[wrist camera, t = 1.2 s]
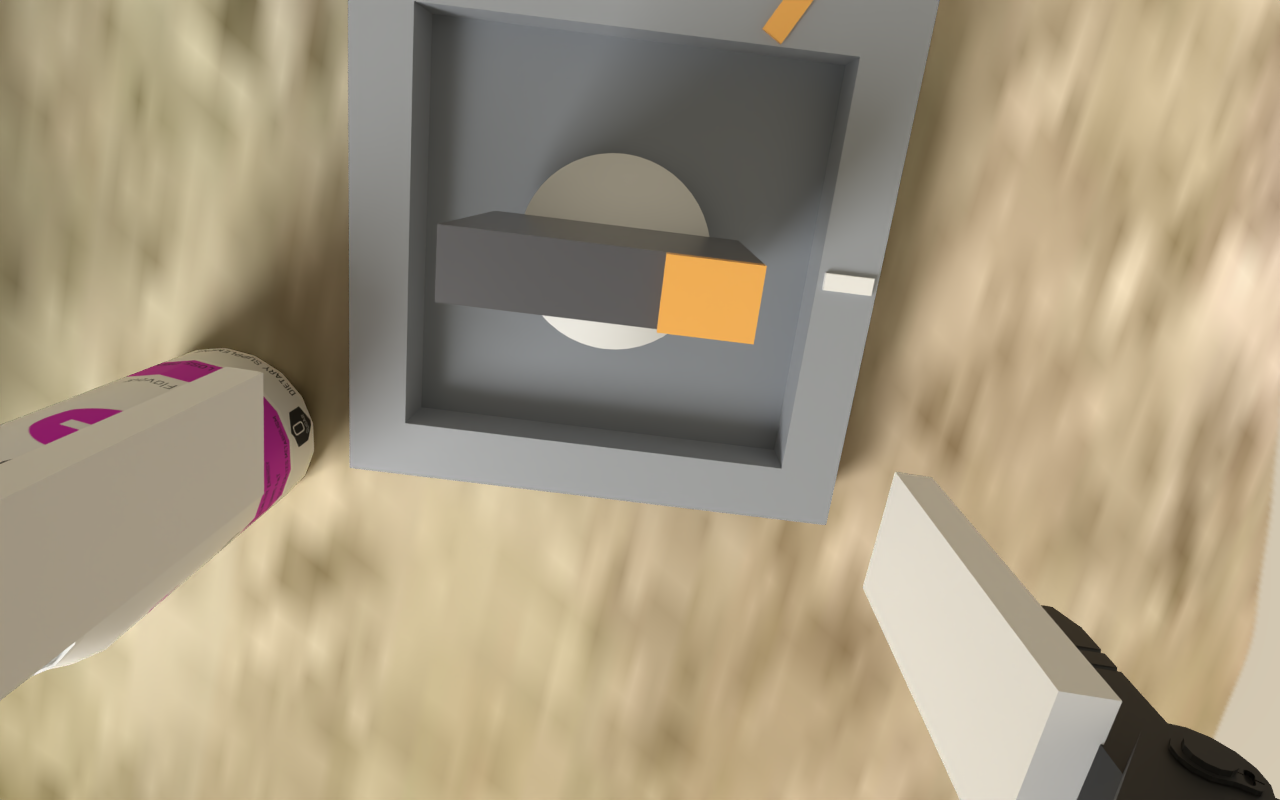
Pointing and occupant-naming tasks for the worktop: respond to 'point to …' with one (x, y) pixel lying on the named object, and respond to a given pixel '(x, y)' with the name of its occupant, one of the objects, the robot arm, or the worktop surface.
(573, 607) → the worktop surface
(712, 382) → the dial panel
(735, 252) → the dial
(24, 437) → the supplement can
